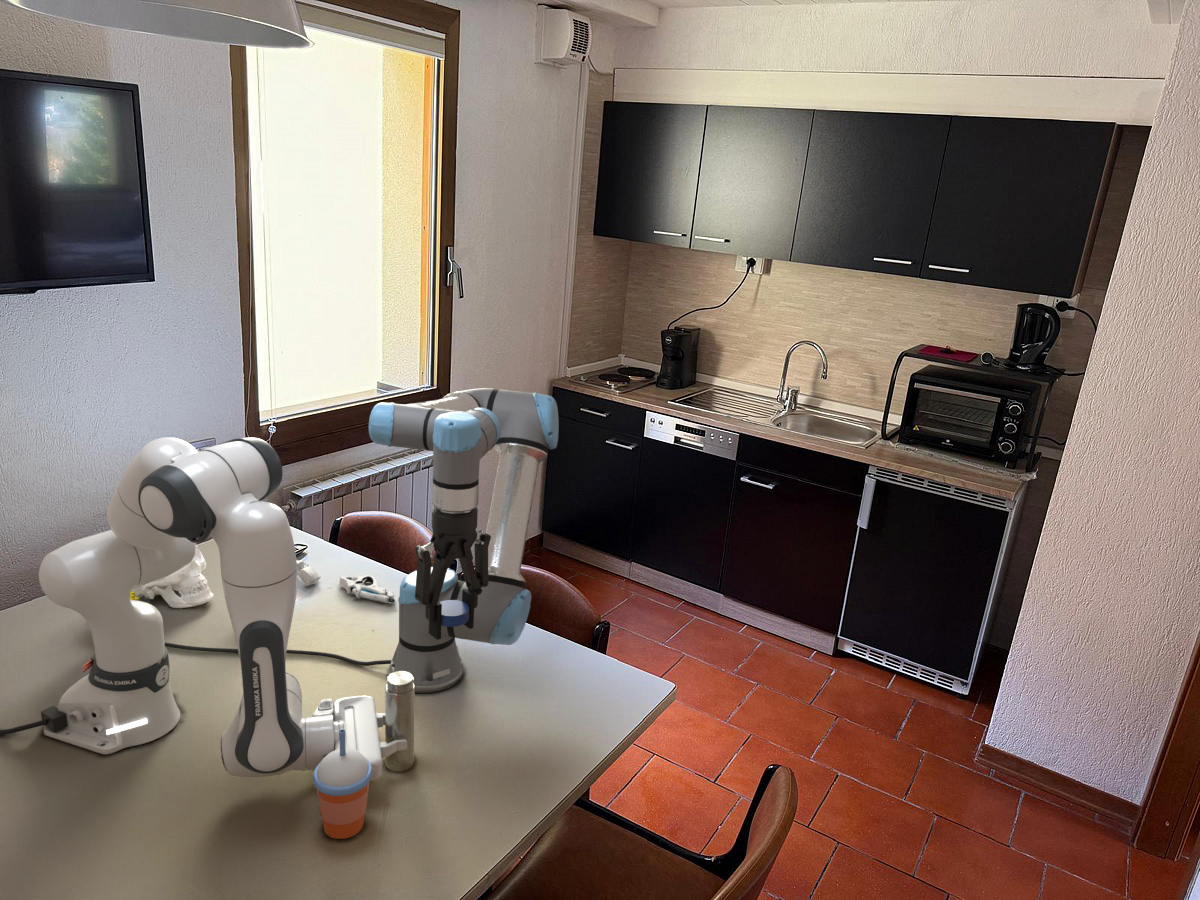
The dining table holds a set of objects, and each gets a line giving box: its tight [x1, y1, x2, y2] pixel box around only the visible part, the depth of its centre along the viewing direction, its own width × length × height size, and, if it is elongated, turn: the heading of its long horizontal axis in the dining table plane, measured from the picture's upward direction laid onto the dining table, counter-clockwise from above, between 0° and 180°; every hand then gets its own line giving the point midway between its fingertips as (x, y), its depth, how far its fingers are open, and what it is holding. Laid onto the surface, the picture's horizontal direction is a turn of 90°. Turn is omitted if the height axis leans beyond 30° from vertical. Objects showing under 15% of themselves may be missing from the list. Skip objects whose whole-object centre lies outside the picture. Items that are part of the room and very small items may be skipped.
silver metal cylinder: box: [384, 671, 416, 773], centre depth 152 cm, size 5×5×18 cm
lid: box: [439, 600, 469, 627], centre depth 147 cm, size 6×6×2 cm
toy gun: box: [338, 574, 395, 604], centre depth 214 cm, size 18×2×10 cm
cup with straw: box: [312, 729, 373, 840], centre depth 136 cm, size 9×9×18 cm
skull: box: [137, 544, 214, 609], centre depth 203 cm, size 13×22×16 cm, turn 73°
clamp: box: [296, 559, 322, 587], centre depth 219 cm, size 20×4×7 cm, turn 62°
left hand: (404, 731), depth 153 cm, fingers closed on silver metal cylinder, 5 cm apart
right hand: (451, 630), depth 148 cm, fingers closed on lid, 6 cm apart
